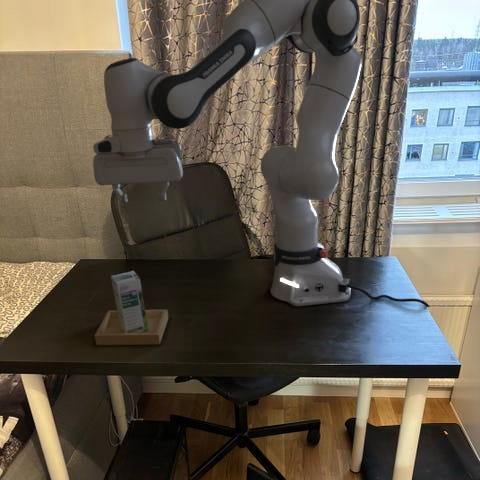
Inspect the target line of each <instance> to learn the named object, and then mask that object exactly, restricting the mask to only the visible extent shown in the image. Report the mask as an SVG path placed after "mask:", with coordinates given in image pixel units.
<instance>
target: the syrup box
mask: <svg viewBox="0 0 480 480" xmlns="http://www.w3.org/2000/svg"><path fill="white" fill-rule="evenodd" d="M110 281H111V285H112V289H113V296H114V300H115V305H116V310H117V311H118V316H119V321H120V326H121V328H122V330H123V331H124V333H125V334H127V333H139V332H143V331H147V330H148V326H147V320H146V314H145V310H146V308H145V302H144V296H143V290H142V283H141V278H140V277H139V275H138V274H137V273H136V272H135V271H134V270H131V271H127V272H122V273H119V274H113V275H110Z"/></svg>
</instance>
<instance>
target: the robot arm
mask: <svg viewBox="0 0 480 480" xmlns="http://www.w3.org/2000/svg"><path fill="white" fill-rule="evenodd" d="M360 19H361V12H360V6H359V4H358V2H357V0H242V1H241V2H240V3H239V4H238V5H236V7H235V8H234V9H233V10H232V11H230V13H229V14H228V15H227V16H226V18H225V19H224V20H223V22H222V25H221V39H220V41H219V43H218V44H217V45H216V46H215V47H214V49H212V50H211V51H209V53H208V54H207V55H205V56H204V57H203V58H202V59H201V60H200V61H198V62H197V63H196V64H195V65H194V66H193V67H191V68H190V69H189V70H187V71H185V72H182V73H178V74H172V73H169V72H165V71H163V70H159V69H156V68H154V67H151V66H149V65H147V64H145V63H143V62H142V61H141V60H139V59H138V58H136V57H129V58H126V59H121V60H120V59H119V60H118V61H117V60H116V61H114V62H112V63H110V64H109V65H108V66H107V67H106V68H105V70H104V73H103V86H104V95H105V101H106V107H107V110H108V112H109V114H110V119H111V122H110V129H111V134H108V135H106V136H105V137H102V138H100V139H98V140H97V141H96V142H94V143H93V144H92V149H93V152H94V153H95V155H94V157H93V159H92V167H93V169H92V170H93V175H94V180H95V182H96V184H98V185H99V186H111V187H112V190H113V192H114V193H115V194H116V195H117V196H118V199H119V203H121V204H124V203H126V204H127V203H128V195H127V193H123V191H122V190H121V188H120V187H121V185H132V184H152V183H153V184H155V183H161V187H163V189H162V191H158V194H157V195H158V200H159V202H165V201H167V193H166V192H167V190H168V188H169V186H170V183H171V182H172V183H173V182H180V181H181V179H182V178H183V176H184V170H183V164H182V161H181V156H182V147H181V145H180V143H179V142H178V141H177V140H174V139H173V138H165V139H164V138H159V139H157V138H156V139H154V133H153V126H152V121H154V120H158V121H159V122H160V123H162V125H164V126H165V127H168V128H169V129H174V130H175V129H176V130H181V129H185V128H187V127H189V126H191V125H192V124H193V123H195V122H196V120H197V119H198V118H199V116H200V114H201V113H202V111H203V109H204V107H205V105H206V103H207V101H208V100H209V99H210V98H211V97H212V96H213V95H214V94H215V93H216V92H217V91H218V90H220V88H222V87H223V86H224V85H225V84H227V82H228V81H229V80H230V79H232V78H233V77H234V76H235V75H236V74H237V73H239V72H240V71H241V70H242V69H243V68H245V67H246V66H247V65H249V64H250V63H253V62H254V61H256V60H257V59H258V58H261V56H263V55H264V54H266V53H267V52H269V51H270V50H271V49H272V48H274V47H275V46H276V45H277V44H279V43H280V42H281V41H282V40H283V39H285V38H286V39H287V40H288V41H289V43H290V44H291V47H293V48H294V49H296V50H297V51H298V52H301V53H304V54H314V66H313V72H312V75H311V76H310V79H309V82H308V84H307V86H306V89H305V92H304V93H303V96H302V99H301V101H300V104H299V107H298V109H297V112H296V114H295V122H296V125H297V127H298V128H297V129H298V136H297V143H296V146H295V147H294V146H292V145H277V146H272V147H270V148H269V149H268V150H267V151H265V152H264V154H263V156H262V157H261V161H260V172H261V175H262V177H263V179H264V180H265V182H266V185H267V187H268V190H269V194H270V199H271V203H272V207H273V211H274V221H275V243H274V248H273V262H274V272H273V273H274V274H273V279H272V284H271V287H270V294H271V295H272V297H274V298H276V299H278V300H280V301H283V302H286V303H289V304H290V305H292V306H293V307H306V306H313V305H323V304H330V303H331V304H332V303H333V304H334V303H342V302H347V301H348V300H349V299H350V298H351V296H352V292H351V291H352V290H356V291H358V292H361V293H363V294H364V295H366V296H367V297H368V298H369V299H371V300H374V301H375V300H379V299H383V298H384V299H388V300H390V301H393V302H398V303H399V302H400V303H407V302H408V303H409V302H415V303H416V302H417V303H419V304H422V305H424V306H425V307H426V308H430V307H431V306H430V305H429V304H428V303H427V302H426V301H425V300H423V299H419V298H396V297H392V296H390V295H387V294H380V295H377V296H372V294H370V293H369V292H368V291H366V290H365V289H363V288H361V287H358V286H355V285H352V284H350V283H351V279H350V278H346V277H343V273H342V270H341V269H340V267H339V265H338V264H336V263H335V262H334V261H332V260H330V259H329V258H328V252H327V249H325V246H324V245H323V244H322V242H318V226H319V225H318V224H319V218H318V214H317V211H316V209H315V208H314V206H313V204H312V201H323V200H326V199H328V198H329V197H330V196H331V195H332V194H333V193H334V192H335V191H336V189H337V187H338V185H339V180H340V174H339V173H340V172H339V169H338V166H337V164H336V145H337V140H338V136H339V132H340V129H341V126H342V123H343V121H344V118H345V116H346V114H347V112H348V109H349V106H350V103H351V101H352V99H353V96H354V94H355V90H356V88H357V84H358V81H359V77H360V72H361V68H362V63H363V62H362V57H361V54H360V53H359V52H358V50H357V49H356V48H354V47H355V46H356V44H357V42H358V39H359V38H358V37H359V34H358V31H359V27H360V23H361V20H360ZM351 289H352V290H351Z"/></svg>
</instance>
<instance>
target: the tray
mask: <svg viewBox="0 0 480 480" xmlns="http://www.w3.org/2000/svg"><path fill="white" fill-rule="evenodd" d="M168 312H169V311H168V309H145V314H146V320H147V326H148V330H147V331H143V332H139V333H127V334H125V333H124V331H123V330H122V328H121V326H120V321H119V316H118V311H117V309H115V310H113V309H111V310H108V311H107V312H106V314H105V316H104V318H103V320H102V321H101V323H100V324H99V327H98V328H97V329H96V332H95V334H94V340H95V345H96V346H141V345H143V346H144V345H148V346H149V345H161V342H162V339H163V336H164V333H165V331H166V327H167V323H168V321H169V313H168Z"/></svg>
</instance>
